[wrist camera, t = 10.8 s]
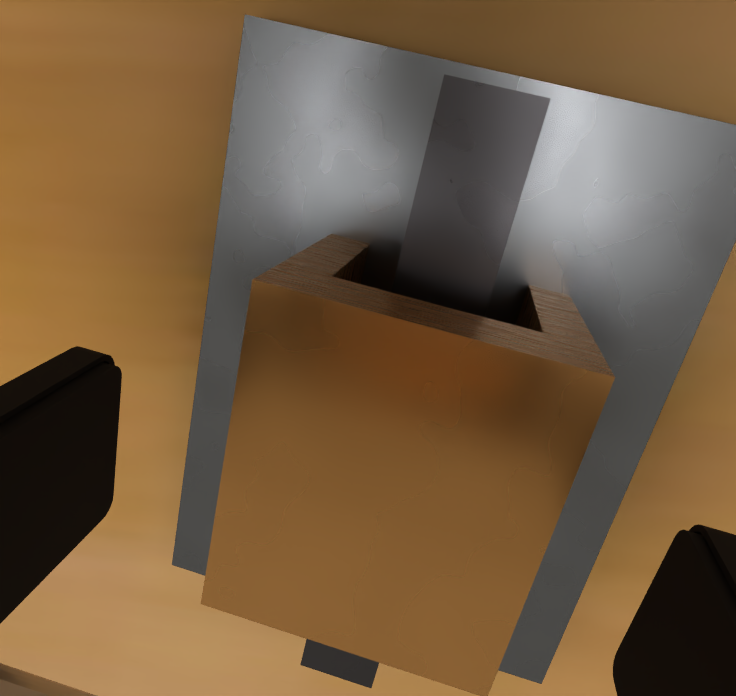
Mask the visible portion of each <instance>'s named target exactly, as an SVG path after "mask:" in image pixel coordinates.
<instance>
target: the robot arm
mask: <svg viewBox="0 0 736 696" xmlns="http://www.w3.org/2000/svg"><path fill="white" fill-rule="evenodd" d="M121 379H122V373H121V369H120V368H119V367H118V366H115V365H114V361H113V358H112V357H111V356H110V355H106V354H103V353H99V352H96V351H93V350H89V349H86V348H82V347H78V346H77V347H73V348H71V349H69V350H67V351H65V352H64V353H62V354H60V355H58V356H56V357H54V358H52V359H50V360H49V361H47V362H45V363H43V364H41V365H39V366H37V367H35V368H34V369H32V370H30V371H28V372H26V373H24V374H22V375H20V376H19V377H17V378H15V379H13V380H11V381H9V382H7V383H5V384H4V385H2V386H0V623H1V622H2V621H3V620H4V619H5V618H6V617H7V616H8V615H9V614H10V613H11V612H12V611H13V610H14V609H15V608H16V607H17V606H18V605H19V604H20V603H21V602H22V601H23V600H24V599H25V598H26V597H27V596H28V595H29V594H30V593H31V592H32V591H33V590H34V589H35V588H36V587H37V586H38V585H39V584H40V583H41V582H42V581H43V580H44V579H45V577H46V576H47V575H48V574H49V573H50V572H51V571H52V570H53V569H54V568H55V567H56V566H57V565H58V564H59V563H60V562H61V561H62V560H63V559H64V558H65V557H66V556H67V555H68V554H69V553H70V552H71V551H72V550H73V549H74V548H75V547H76V546H77V545H78V544H79V543H80V542H81V541H82V540H83V539H84V538H85V537H86V536H87V535H88V534H89V533H90V532H91V531H92V530H93V528H94V527H95V526H96V525H97V524H98V523H99V522H100V521H101V520H102V519H103V518H104V517H105V516H106V514H107V512H108V511H109V509H110V506H111V504H112V501H113V494H114V479H115V465H116V451H117V436H118V422H119V408H120V393H121ZM613 678H614V683H615V687H616V692H617V696H736V535H734V534H730V533H727V532H723V531H720V530H717V529H713V528H710V527H706V526H703V525H699V524H698V525H694V526H693V527H692V528H691V529H690V530H689V531H686V530H681V531H679V532H678V533H677V535H676V536H675V538H674V540H673V542H672V544H671V546H670V548H669V549H668V551H667V553H666V555H665V557H664V559H663V561H662V563H661V565H660V567H659V569H658V571H657V573H656V575H655V577H654V579H653V581H652V583H651V585H650V587H649V589H648V591H647V593H646V595H645V597H644V599H643V601H642V603H641V605H640V607H639V609H638V611H637V613H636V615H635V617H634V619H633V621H632V623H631V625H630V627H629V629H628V631H627V633H626V635H625V636H624V638H623V640H622V642H621V644H620V646H619V648H618V650H617V653H616V655H615V659H614V664H613ZM0 696H96V695H93V694H90V693H87V692H84V691H81V690H78V689H75V688H72V687H69V686H66V685H63V684H60V683H57V682H54V681H51V680H48V679H45V678H42V677H39V676H36V675H34V674H31V673H28V672H25V671H22V670H19V669H16V668H13V667H10V666H7V665H4V664H1V663H0Z"/></svg>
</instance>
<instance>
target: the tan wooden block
mask: <svg viewBox="0 0 736 696" xmlns="http://www.w3.org/2000/svg"><path fill="white" fill-rule="evenodd" d="M369 245H370V244H369V243H365V242H361V241H357V240H354V239H350V238H346V237H342V236H338V235H334V234H330V235H328V236H327V237H325V238H323V239H321V240H320V241H318V242H316V243H314V244H313V245H311V246H309V247H308V248H306V249H304V250H302V251H301V252H299V253H297V254H295V255H294V256H292V257H290V258H289V259H287V260H285V261H283V262H282V263H280V264H278V265H276V266H275V267H273V268H271V269H270V270H268V271H266V272H264V273H263V274H261V275H259V276H257V277H256V278H254V279H252V285H251V292H250V298H249V304H248V310H247V317H246V323H245V329H244V336H243V342H242V348H241V354H240V361H239V367H238V373H237V380H236V386H235V392H234V398H233V405H232V411H231V417H230V424H229V430H228V436H227V443H226V449H225V455H224V461H223V468H222V474H221V480H220V487H219V493H218V499H217V505H216V512H215V518H214V524H213V531H212V537H211V543H210V549H209V556H208V562H207V568H206V575H205V581H204V587H203V593H202V600H201V604H203V605H206V606H209V607H212V608H215V609H218V610H221V611H224V612H227V613H230V614H233V615H236V616H239V617H242V618H245V619H248V620H251V621H254V622H257V623H260V624H264V625H267V626H270V627H273V628H276V629H279V630H282V631H285V632H288V633H291V634H294V635H297V636H300V637H303V638H306V639H309V640H312V641H315V642H318V643H321V644H324V645H327V646H330V647H334V648H337V649H340V650H343V651H346V652H349V653H352V654H355V655H358V656H361V657H364V658H367V659H370V660H373V661H376V662H379V663H382V664H385V665H388V666H391V667H394V668H397V669H400V670H404V671H407V672H410V673H413V674H416V675H419V676H422V677H425V678H428V679H431V680H434V681H437V682H440V683H443V684H446V685H449V686H452V687H455V688H458V689H461V690H464V691H467V692H470V693H474V694H477V695H480V696H488V694H489V691H490V689H491V686H492V684H493V681H494V679H495V676H496V674H497V671H498V669H499V666H500V664H501V661H502V659H503V656H504V654H505V651H506V649H507V646H508V644H509V641H510V639H511V636H512V634H513V631H514V629H515V626H516V624H517V621H518V619H519V616H520V614H521V611H522V609H523V606H524V604H525V601H526V599H527V596H528V594H529V591H530V589H531V586H532V584H533V581H534V579H535V576H536V574H537V571H538V569H539V566H540V564H541V561H542V559H543V556H544V554H545V551H546V549H547V546H548V544H549V541H550V539H551V536H552V534H553V531H554V529H555V527H556V524H557V522H558V519H559V517H560V514H561V512H562V509H563V507H564V504H565V502H566V499H567V497H568V494H569V492H570V489H571V487H572V484H573V482H574V479H575V477H576V474H577V472H578V469H579V467H580V464H581V462H582V459H583V457H584V454H585V452H586V449H587V447H588V444H589V442H590V439H591V437H592V434H593V432H594V429H595V427H596V424H597V422H598V419H599V417H600V414H601V412H602V409H603V407H604V404H605V402H606V399H607V397H608V394H609V392H610V389H611V387H612V384H613V382H614V379H615V376H614V375H613V373H612V371H611V369H610V367H609V366H608V364H607V362H606V360H605V358H604V357H603V355H602V353H601V351H600V349H599V347H598V346H597V344H596V342H595V340H594V338H593V337H592V335H591V333H590V331H589V329H588V328H587V326H586V324H585V322H584V320H583V319H582V317H581V315H580V313H579V311H578V310H577V308H576V306H575V304H574V302H573V301H572V299H571V297H570V296H569V295H566V294H562V293H558V292H554V291H550V290H546V289H542V288H539V287H535V286H531V285H529V286H528V289H527V292H526V295H525V298H524V301H523V304H522V307H521V310H520V313H519V316H518V319H517V322H516V325H512V324H508V323H505V322H501V321H497V320H493V319H490V318H486V317H482V316H478V315H475V314H471V313H467V312H463V311H460V310H456V309H452V308H448V307H445V306H441V305H437V304H433V303H430V302H426V301H422V300H418V299H415V298H411V297H407V296H403V295H400V294H396V293H392V292H388V291H385V290H381V289H377V288H373V287H370V286H366V285H362V284H361V281H362V276H363V272H364V267H365V263H366V258H367V254H368V250H369Z"/></svg>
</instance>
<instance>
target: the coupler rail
mask: <svg viewBox="0 0 736 696" xmlns="http://www.w3.org/2000/svg"><path fill="white" fill-rule="evenodd" d="M330 234H334V235H338V236H342V237H346V238H350V239H354V240H357V241H361V242H365V243H369V244H370V245H369V250H368V254H367V258H366V263H365V267H364V272H363V276H362V281H361V284H362V285H366V286H370V287H373V288H377V289H381V290H385V291H388V292H392V293H396V294H400V295H403V296H407V297H411V298H415V299H418V300H422V301H426V302H430V303H433V304H437V305H441V306H445V307H448V308H452V309H456V310H460V311H463V312H467V313H471V314H475V315H478V316H482V317H486V318H490V319H493V320H497V321H501V322H505V323H508V324H512V325H516V322H517V319H518V316H519V313H520V310H521V307H522V304H523V301H524V298H525V295H526V292H527V289H528V286H529V285H531V286H535V287H539V288H542V289H546V290H550V291H554V292H558V293H562V294H566V295H569V296H570V297H571V299H572V301H573V302H574V304H575V306H576V308H577V310H578V311H579V313H580V315H581V317H582V319H583V320H584V322H585V324H586V326H587V328H588V329H589V331H590V333H591V335H592V337H593V338H594V340H595V342H596V344H597V346H598V347H599V349H600V351H601V353H602V355H603V357H604V358H605V360H606V362H607V364H608V366H609V367H610V369H611V371H612V373H613V375H614V376H615V379H614V382H613V384H612V387H611V389H610V392H609V394H608V397H607V399H606V402H605V404H604V407H603V409H602V412H601V414H600V417H599V419H598V422H597V424H596V427H595V429H594V432H593V434H592V437H591V439H590V442H589V444H588V447H587V449H586V452H585V454H584V457H583V459H582V462H581V464H580V467H579V469H578V472H577V474H576V477H575V479H574V482H573V484H572V487H571V489H570V492H569V494H568V497H567V499H566V502H565V504H564V507H563V509H562V512H561V514H560V517H559V519H558V522H557V524H556V527H555V529H554V531H553V534H552V536H551V539H550V541H549V544H548V546H547V549H546V551H545V554H544V556H543V559H542V561H541V564H540V566H539V569H538V571H537V574H536V576H535V579H534V581H533V584H532V586H531V589H530V591H529V594H528V596H527V599H526V601H525V604H524V606H523V609H522V611H521V614H520V616H519V619H518V621H517V624H516V626H515V629H514V631H513V634H512V636H511V639H510V641H509V644H508V646H507V649H506V651H505V654H504V656H503V659H502V661H501V664H500V666H499V669H498V670H499V671H503V672H506V673H509V674H512V675H515V676H518V677H521V678H524V679H527V680H530V681H534V682H537V683H540V684H542V682H543V679H544V677H545V675H546V672H547V670H548V668H549V666H550V663H551V661H552V659H553V656H554V654H555V652H556V650H557V647H558V645H559V643H560V640H561V638H562V636H563V634H564V631H565V629H566V627H567V624H568V622H569V620H570V618H571V615H572V613H573V611H574V608H575V606H576V604H577V602H578V599H579V597H580V595H581V593H582V590H583V588H584V586H585V583H586V581H587V579H588V577H589V574H590V572H591V570H592V567H593V565H594V563H595V561H596V558H597V556H598V554H599V551H600V549H601V547H602V545H603V542H604V540H605V538H606V535H607V533H608V531H609V529H610V526H611V524H612V522H613V520H614V517H615V515H616V513H617V510H618V508H619V506H620V504H621V501H622V499H623V497H624V494H625V492H626V490H627V488H628V485H629V483H630V481H631V478H632V476H633V474H634V472H635V469H636V467H637V465H638V462H639V460H640V458H641V456H642V453H643V451H644V449H645V447H646V444H647V442H648V440H649V437H650V435H651V433H652V431H653V428H654V426H655V424H656V421H657V419H658V417H659V415H660V412H661V410H662V408H663V405H664V403H665V401H666V399H667V396H668V394H669V392H670V389H671V387H672V385H673V383H674V380H675V378H676V376H677V374H678V371H679V369H680V367H681V364H682V362H683V360H684V358H685V355H686V353H687V351H688V348H689V346H690V344H691V342H692V339H693V337H694V335H695V332H696V330H697V328H698V326H699V323H700V321H701V319H702V316H703V314H704V312H705V310H706V307H707V305H708V303H709V301H710V298H711V296H712V294H713V291H714V289H715V287H716V285H717V282H718V280H719V278H720V275H721V273H722V271H723V269H724V266H725V264H726V262H727V259H728V257H729V255H730V253H731V250H732V248H733V246H734V243H735V241H736V125H734V124H730V123H725V122H721V121H716V120H712V119H707V118H703V117H699V116H694V115H690V114H685V113H681V112H676V111H672V110H667V109H663V108H659V107H654V106H650V105H645V104H641V103H636V102H632V101H627V100H623V99H619V98H614V97H610V96H605V95H601V94H596V93H592V92H587V91H583V90H579V89H574V88H570V87H565V86H561V85H556V84H552V83H547V82H543V81H539V80H534V79H530V78H525V77H521V76H516V75H512V74H507V73H503V72H499V71H494V70H490V69H485V68H481V67H476V66H472V65H467V64H463V63H459V62H454V61H450V60H445V59H441V58H436V57H432V56H427V55H423V54H419V53H414V52H410V51H405V50H401V49H396V48H392V47H387V46H383V45H379V44H374V43H370V42H365V41H361V40H356V39H352V38H347V37H343V36H339V35H334V34H330V33H325V32H321V31H316V30H312V29H307V28H303V27H299V26H294V25H290V24H285V23H281V22H276V21H272V20H267V19H263V18H259V17H254V16H250V15H245V18H244V25H243V33H242V40H241V48H240V56H239V63H238V71H237V78H236V86H235V93H234V101H233V108H232V116H231V123H230V131H229V139H228V146H227V154H226V161H225V169H224V176H223V184H222V191H221V199H220V206H219V214H218V221H217V229H216V237H215V244H214V252H213V259H212V267H211V274H210V282H209V289H208V297H207V304H206V312H205V320H204V327H203V335H202V342H201V350H200V357H199V365H198V372H197V380H196V387H195V395H194V402H193V410H192V418H191V425H190V433H189V440H188V448H187V455H186V463H185V470H184V478H183V485H182V493H181V501H180V508H179V516H178V523H177V531H176V538H175V546H174V553H173V561H172V565H174V566H177V567H180V568H183V569H187V570H190V571H193V572H196V573H199V574H202V575H206V568H207V562H208V556H209V549H210V543H211V537H212V531H213V524H214V518H215V512H216V505H217V499H218V493H219V487H220V480H221V474H222V468H223V461H224V455H225V449H226V443H227V436H228V430H229V424H230V417H231V411H232V405H233V398H234V392H235V386H236V380H237V373H238V367H239V361H240V354H241V348H242V342H243V336H244V329H245V323H246V317H247V310H248V304H249V298H250V292H251V285H252V279H254V278H256V277H257V276H259V275H261V274H263V273H264V272H266V271H268V270H270V269H271V268H273V267H275V266H276V265H278V264H280V263H282V262H283V261H285V260H287V259H289V258H290V257H292V256H294V255H295V254H297V253H299V252H301V251H302V250H304V249H306V248H308V247H309V246H311V245H313V244H314V243H316V242H318V241H320V240H321V239H323V238H325V237H327V236H328V235H330ZM378 664H379V662H376V661H373V660H370V659H367V658H364V657H361V656H358V655H355V654H352V653H349V652H346V651H343V650H340V649H337V648H334V647H330V646H327V645H324V644H321V643H318V642H315V641H312V640H309V639H307V640H306V644H305V648H304V652H303V657H302V661H301V665H303V666H306V667H309V668H312V669H315V670H318V671H321V672H324V673H327V674H330V675H333V676H336V677H339V678H342V679H345V680H348V681H351V682H354V683H357V684H360V685H363V686H366V687H369V688H371V687H372V684H373V681H374V678H375V674H376V671H377V668H378Z"/></svg>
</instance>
